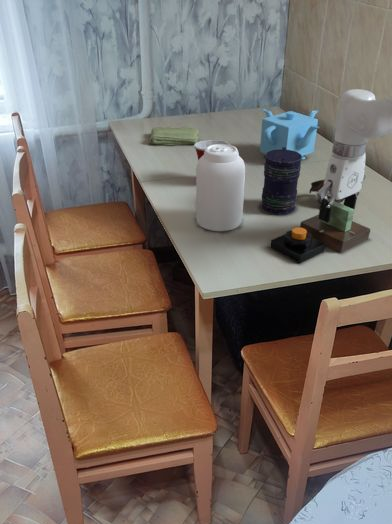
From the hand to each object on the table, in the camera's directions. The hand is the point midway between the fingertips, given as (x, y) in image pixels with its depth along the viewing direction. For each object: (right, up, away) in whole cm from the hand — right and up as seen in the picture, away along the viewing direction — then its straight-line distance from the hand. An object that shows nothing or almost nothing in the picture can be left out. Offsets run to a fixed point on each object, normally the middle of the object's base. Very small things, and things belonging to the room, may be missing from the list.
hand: (336, 214), depth 139 cm
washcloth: (-44, +42, +61) cm, 86 cm away
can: (-30, 0, +10) cm, 31 cm away
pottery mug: (+3, +8, +19) cm, 21 cm away
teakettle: (-4, +32, +48) cm, 57 cm away
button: (-11, -7, -5) cm, 13 cm away
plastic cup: (-31, +18, +31) cm, 47 cm away
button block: (-11, -9, -2) cm, 14 cm away
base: (0, -5, +4) cm, 6 cm away
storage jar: (-12, +6, +17) cm, 22 cm away
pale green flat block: (0, -2, +2) cm, 3 cm away
